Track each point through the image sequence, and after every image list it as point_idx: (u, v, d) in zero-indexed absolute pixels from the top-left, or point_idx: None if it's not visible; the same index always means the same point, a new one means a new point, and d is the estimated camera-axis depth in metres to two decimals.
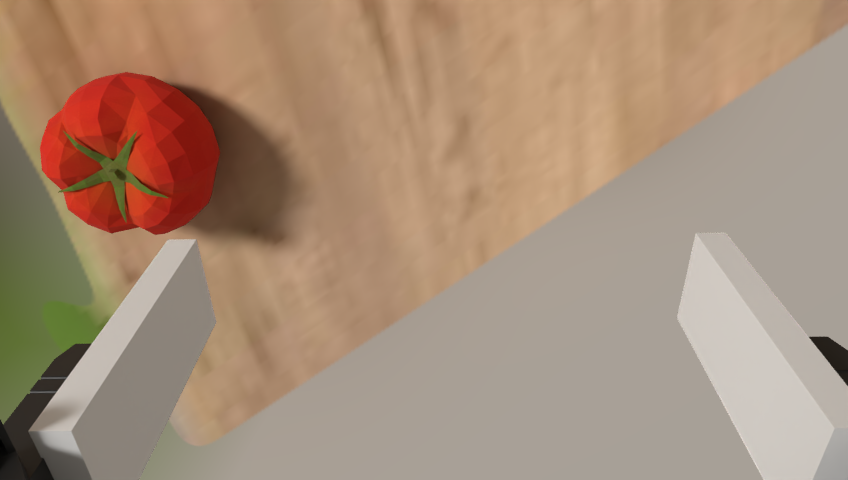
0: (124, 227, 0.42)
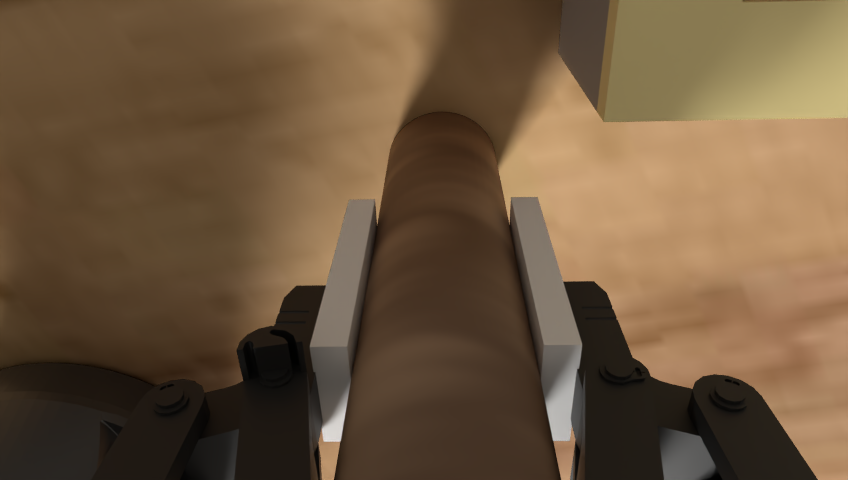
0: None
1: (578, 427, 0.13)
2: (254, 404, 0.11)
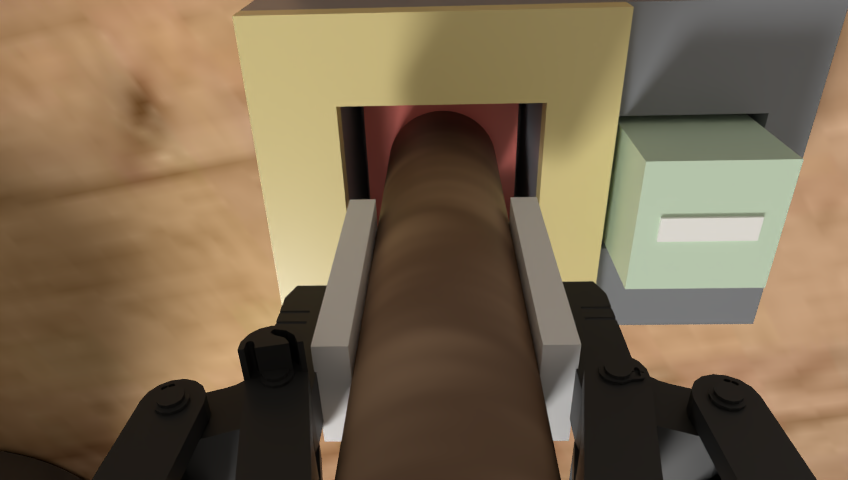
0: None
1: (577, 427, 0.13)
2: (255, 404, 0.11)
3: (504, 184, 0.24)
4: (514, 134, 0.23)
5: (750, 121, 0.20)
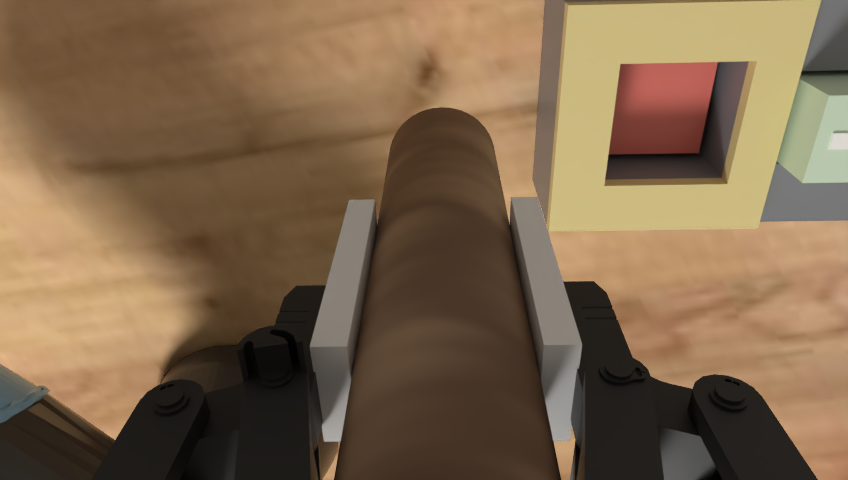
0: None
1: (578, 427, 0.13)
2: (254, 404, 0.11)
3: (697, 123, 0.35)
4: (710, 87, 0.34)
5: None
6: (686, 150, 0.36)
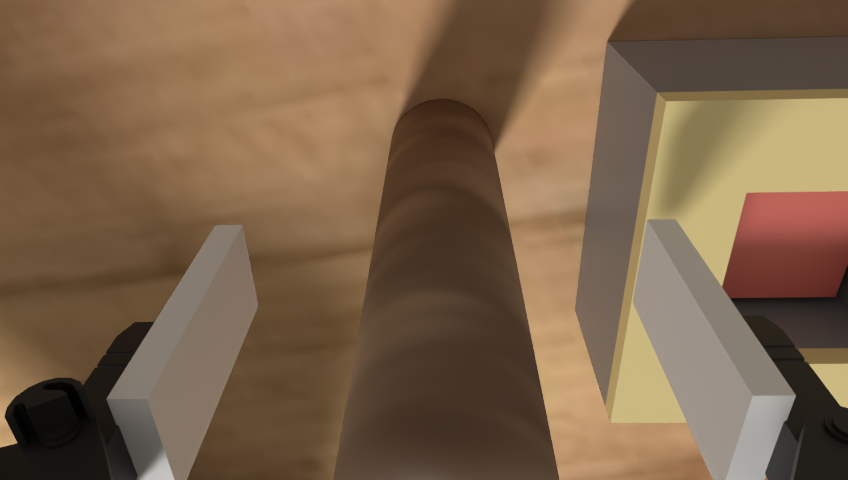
0: None
1: (784, 476, 0.12)
2: (39, 470, 0.10)
3: (839, 256, 0.23)
4: None
5: None
6: (817, 293, 0.24)
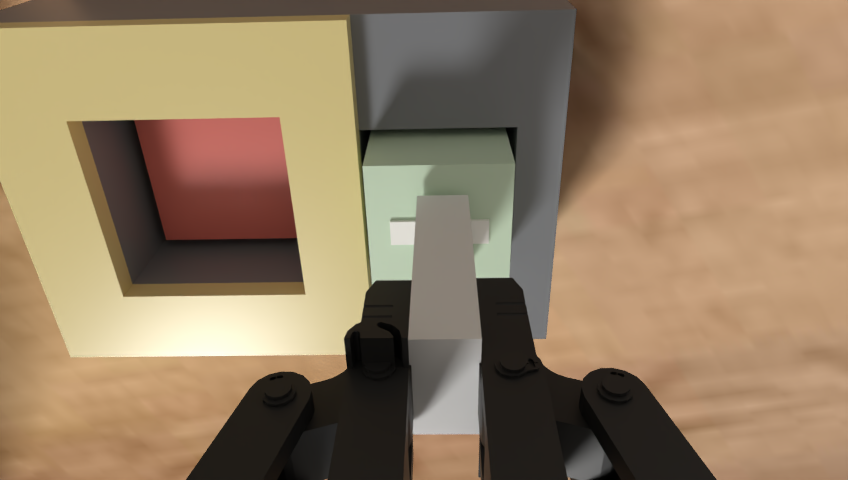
0: None
1: (480, 424, 0.13)
2: (355, 393, 0.12)
3: None
4: None
5: None
6: (288, 234, 0.25)
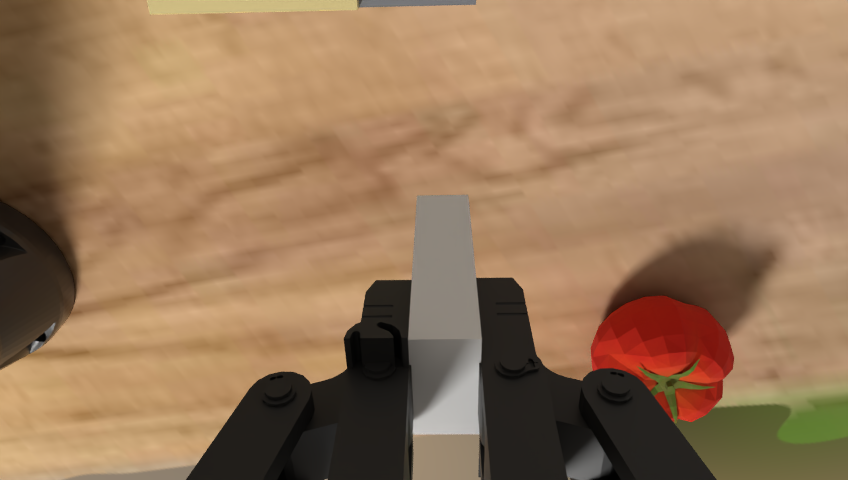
0: (719, 387, 0.49)
1: (480, 424, 0.13)
2: (355, 393, 0.12)
3: None
4: None
5: None
6: None
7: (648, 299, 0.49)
